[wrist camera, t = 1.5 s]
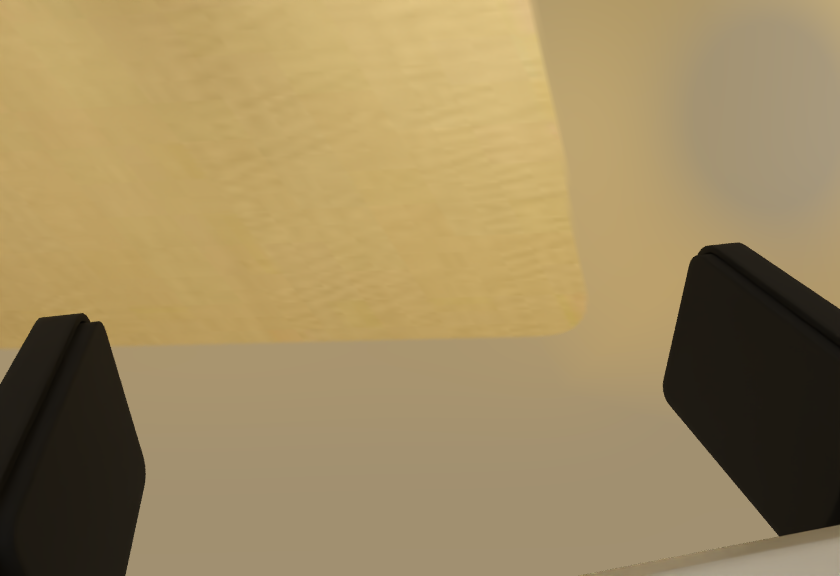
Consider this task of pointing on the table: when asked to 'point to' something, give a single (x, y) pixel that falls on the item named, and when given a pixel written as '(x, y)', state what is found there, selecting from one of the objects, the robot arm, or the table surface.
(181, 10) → the table surface
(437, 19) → the table surface
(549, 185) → the table surface
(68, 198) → the table surface
